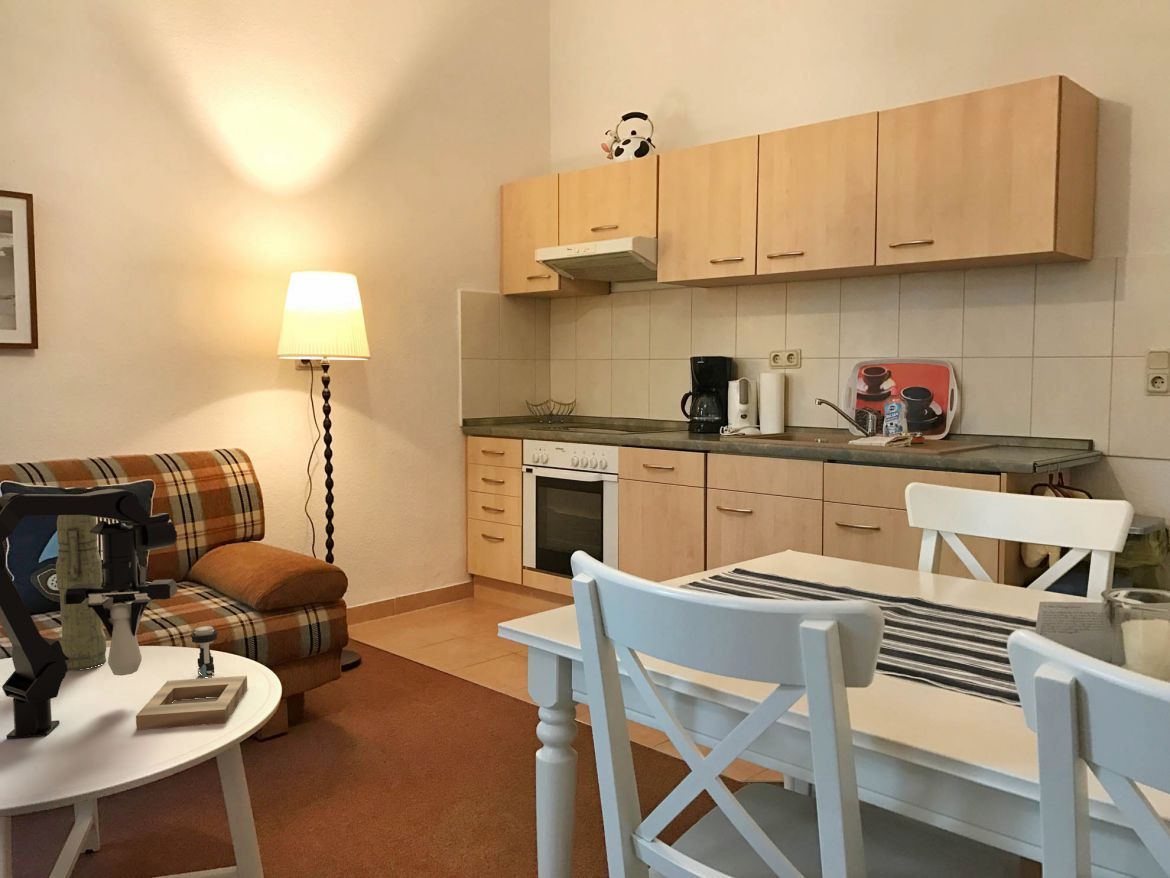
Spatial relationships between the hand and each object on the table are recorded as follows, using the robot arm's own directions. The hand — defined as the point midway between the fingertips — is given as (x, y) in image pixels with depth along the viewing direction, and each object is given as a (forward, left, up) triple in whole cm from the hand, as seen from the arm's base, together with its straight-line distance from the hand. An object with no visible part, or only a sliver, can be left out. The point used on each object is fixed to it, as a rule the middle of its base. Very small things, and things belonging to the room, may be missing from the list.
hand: (123, 636), depth 180 cm
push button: (+14, -11, -13) cm, 22 cm away
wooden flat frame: (-6, -14, -13) cm, 20 cm away
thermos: (+29, +18, -13) cm, 37 cm away
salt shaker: (0, 0, -7) cm, 7 cm away
